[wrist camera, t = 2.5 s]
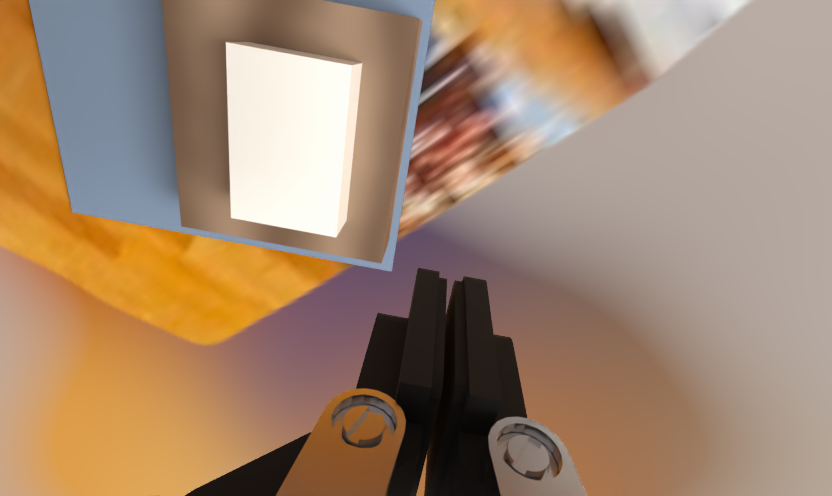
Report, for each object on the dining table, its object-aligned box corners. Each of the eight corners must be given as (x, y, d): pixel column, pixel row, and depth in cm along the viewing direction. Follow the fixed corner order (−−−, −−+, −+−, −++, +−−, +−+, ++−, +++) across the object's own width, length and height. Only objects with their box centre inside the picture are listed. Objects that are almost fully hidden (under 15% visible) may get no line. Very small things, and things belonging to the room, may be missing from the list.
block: (422, 20, 24) (417, 17, 21) (389, 240, 31) (381, 263, 27) (198, -21, 24) (159, -30, 21) (210, 206, 31) (181, 226, 27)
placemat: (439, -28, 24) (439, -29, 23) (392, 268, 32) (391, 271, 32) (13, -106, 24) (6, -109, 23) (76, 210, 32) (72, 212, 32)
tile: (362, 62, 22) (351, 65, 20) (346, 220, 26) (336, 237, 24) (248, 42, 22) (225, 42, 20) (250, 202, 26) (231, 218, 24)
